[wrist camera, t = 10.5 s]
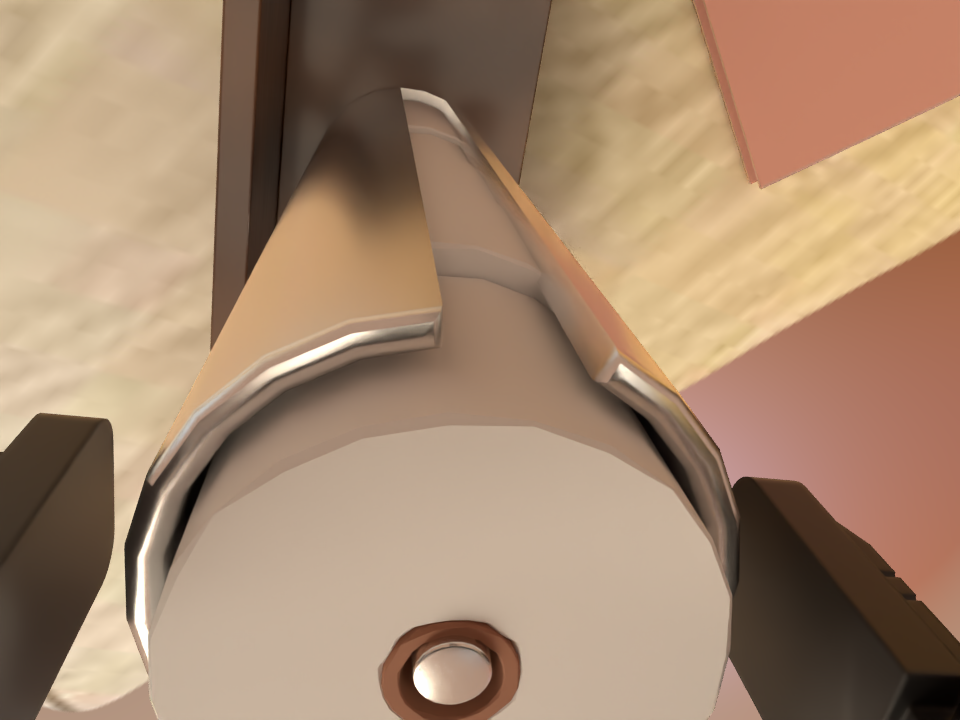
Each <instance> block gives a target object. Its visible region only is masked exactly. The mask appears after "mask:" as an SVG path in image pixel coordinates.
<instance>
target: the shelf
mask: <svg viewBox="0 0 960 720" xmlns="http://www.w3.org/2000/svg"><path fill="white" fill-rule="evenodd" d="M551 2H552V0H223V16H222V43H221V70H220V98H219V125H218V153H217V180H216V208H215V235H214V263H213V290H212V317H211V345H210V352H211V350H212V348H213V346H214V344H215V342H216V340H217V338H218V336H219V335H220V333H221V331H222V329H223V327H224V325H225V323H226V321H227V319H228V317H229V315H230V313H231V311H232V310H233V308H234V306H235V304H236V302H237V300H238V298H239V296H240V294H241V292H242V290H243V288H244V287H245V285H246V283H247V281H248V279H249V277H250V275H251V273H252V271H253V269H254V267H255V265H256V264H257V262H258V260H259V258H260V256H261V254H262V252H263V250H264V248H265V246H266V244H267V242H268V240H269V239H270V237H271V235H272V233H273V231H274V229H275V227H276V225H277V223H278V221H279V219H280V217H281V216H282V214H283V212H284V210H285V208H286V206H287V204H288V202H289V200H290V198H291V196H292V194H293V192H294V191H295V189H296V187H297V185H298V183H299V181H300V179H301V177H302V175H303V173H304V171H305V169H306V168H307V166H308V164H309V162H310V160H311V158H312V156H313V154H314V152H315V150H316V148H317V146H318V145H319V143H320V141H321V139H322V137H323V135H324V133H325V132H326V130H327V129H328V127H329V126H330V125H331V123H332V122H333V120H334V119H335V117H336V116H337V115H338V114H339V113H340V112H341V111H342V110H344V109H345V108H346V107H347V106H348V105H350V104H351V103H352V102H353V101H355V100H356V99H358V98H361V97H363V96H365V95H368V94H370V93H372V92H374V91H377V90H384V89H391V88H399V87H402V88H409V89H416V90H423V91H426V92H428V93H430V94H433V95H435V96H437V97H440V98H442V99H444V100H446V101H447V102H449V103H450V104H451V105H452V106H454V107H455V108H456V109H457V110H458V111H460V112H461V113H462V114H463V115H464V116H465V117H466V118H467V120H468V121H469V122H470V123H471V125H472V126H473V127H474V129H475V130H476V131H477V132H478V134H479V135H480V136H481V138H482V139H483V140H484V142H485V143H486V144H487V145H488V147H489V148H490V149H491V151H492V152H493V153H494V154H495V156H496V157H497V158H498V160H499V161H500V162H501V163H502V165H503V166H504V167H505V169H506V170H507V171H508V173H509V174H510V175H511V176H512V178H513V179H514V180H515V182H516V183H517V184H518V185H519V181H520V176H521V170H522V165H523V159H524V153H525V148H526V142H527V137H528V131H529V125H530V120H531V114H532V109H533V103H534V97H535V92H536V86H537V81H538V75H539V70H540V64H541V58H542V53H543V47H544V42H545V36H546V30H547V25H548V19H549V14H550V8H551Z"/></svg>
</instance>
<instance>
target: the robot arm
mask: <svg viewBox="0 0 960 720" xmlns="http://www.w3.org/2000/svg"><path fill="white" fill-rule="evenodd" d="M732 491H733V494H734V497H735V500H736V504H737V507H738V510H739V513H740V571H739V584H738V587H737V590H736V593H735V596H734V599H733V602H732V619H731V647H730V653H729V658H730V660H731V662H732V663H733V665H734V667H735V669H736V671H737V673H738V675H739V676H740V678H741V680H742V682H743V684H744V686H745V688H746V690H747V691H748V693H749V695H750V697H751V699H752V701H753V702H754V704H755V706H756V708H757V710H758V712H759V714H760V716H761V718H762V719H763V720H960V643H959V641H958V640H957V639H956V638H955V637H954V636H953V635H952V634H951V633H950V632H949V631H948V629H947V628H946V627H945V626H944V625H943V624H942V623H941V622H940V621H939V620H938V618H937V617H936V616H935V615H934V614H933V613H932V612H931V611H930V610H929V609H928V608H927V606H926V605H925V604H924V603H923V602H922V601H916V594H915V593H914V592H913V591H912V590H911V589H910V588H909V587H908V586H907V585H906V584H905V583H904V581H903V580H902V579H901V578H898V577H895V571H894V570H893V569H892V568H891V567H890V566H889V565H888V564H887V563H886V562H885V561H884V559H883V558H882V557H881V556H880V555H879V554H878V553H877V552H876V551H875V550H874V549H873V547H872V546H871V545H870V544H868V543H867V542H865V541H864V540H862V539H861V538H859V537H858V536H857V535H855V534H854V533H852V532H851V531H849V530H848V529H847V528H845V527H843V526H842V525H841V524H839V523H838V522H836V521H835V520H834V518H833V517H832V516H831V515H830V514H829V513H828V512H827V511H826V509H825V508H824V507H823V506H822V505H821V504H820V503H819V501H818V500H817V499H816V498H815V497H814V496H813V495H812V494H811V493H810V491H809V490H808V489H807V488H806V487H805V486H804V485H803V484H802V483H800V482H797V481H790V480H778V479H767V478H755V477H742V478H740V479H739V480H738V481H737V482H736V483H735V484H734V486H733V488H732ZM113 542H114V454H113V431H112V426H111V423H110V421H109V420H108V419H103V418H92V417H81V416H70V415H58V414H47V413H39V414H37V415H36V416H35V417H34V418H33V419H32V420H31V421H30V422H29V423H28V424H27V426H26V427H25V428H24V429H23V430H22V431H21V432H20V434H19V435H18V436H17V437H16V438H15V439H14V440H13V442H12V443H11V444H10V445H9V446H8V447H7V448H6V450H5V451H4V452H0V720H35V719H36V717H37V715H38V713H39V711H40V709H41V707H42V705H43V703H44V701H45V699H46V697H47V695H48V693H49V691H50V689H51V687H52V685H53V683H54V681H55V679H56V677H57V675H58V673H59V671H60V668H61V666H62V664H63V662H64V660H65V658H66V656H67V654H68V652H69V650H70V648H71V646H72V644H73V642H74V640H75V638H76V636H77V634H78V632H79V630H80V628H81V626H82V624H83V622H84V620H85V618H86V616H87V614H88V612H89V610H90V608H91V606H92V604H93V602H94V600H95V598H96V596H97V594H98V592H99V590H100V588H101V586H102V584H103V581H104V579H105V576H106V574H107V571H108V567H109V563H110V559H111V555H112V549H113Z"/></svg>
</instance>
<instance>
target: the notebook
mask: <svg viewBox="0 0 960 720" xmlns="http://www.w3.org/2000/svg"><path fill="white" fill-rule="evenodd" d="M693 3H694V7H695V10H696V13H697V16H698V20H699V23H700V26H701V29H702V32H703V36H704V39H705V42H706V45H707V49H708V52H709V55H710V58H711V62H712V65H713V68H714V71H715V74H716V78H717V81H718V84H719V87H720V91H721V94H722V97H723V100H724V103H725V107H726V110H727V113H728V116H729V120H730V123H731V126H732V129H733V133H734V136H735V139H736V142H737V145H738V149H739V152H740V155H741V158H742V162H743V165H744V168H745V171H746V174H747V178H748V181H749V183H750V184H752V183H754V182H756V181H758V184H759V187H760V188H761V189H763V188H765V187H767V186H769V185H771V184H773V183H776V182H778V181H780V180H782V179H784V178H786V177H788V176H790V175H793V174H795V173H797V172H799V171H801V170H803V169H805V168H807V167H810V166H812V165H814V164H816V163H818V162H820V161H822V160H824V159H826V158H829V157H831V156H833V155H835V154H837V153H839V152H841V151H843V150H846V149H848V148H850V147H852V146H854V145H856V144H858V143H860V142H863V141H865V140H867V139H869V138H871V137H873V136H875V135H877V134H880V133H882V132H884V131H886V130H888V129H890V128H892V127H894V126H897V125H899V124H901V123H903V122H905V121H907V120H909V119H911V118H914V117H916V116H918V115H920V114H922V113H924V112H926V111H928V110H930V109H933V108H935V107H937V106H939V105H941V104H943V103H945V102H947V101H950V100H952V99H954V98H956V97H958V96H960V0H693Z"/></svg>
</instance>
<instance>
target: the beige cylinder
mask: <svg viewBox="0 0 960 720" xmlns="http://www.w3.org/2000/svg"><path fill="white" fill-rule="evenodd" d="M124 551H125V584H126V617H127V621H128V624H129V626H130V629H131V632H132V634H133V637H134V639H135V642H136V645H137V647H138V650H139V653H140V655H141V658H142V661H143V663H144V666H145V668H146V671H147V674H148V676H149V698H150V701H151V704H152V706H153V708H154V711H155V714H156V716H157V719H158V720H708V718H709V717H710V715H711V713H712V712H713V710H714V709H715V705H716V702H717V698H718V694H719V690H720V687H721V683H722V679H723V675H724V671H725V668H726V664H727V661H728V657H729V653H730V647H731V619H732V602H733V599H734V596H735V593H736V590H737V587H738V584H739V571H740V513H739V510H738V507H737V504H736V500H735V497H734V494H733V491H732V488H731V485H730V482H729V478H728V475H727V472H726V468H725V465H724V462H723V459H722V456H721V452H720V449H719V448H718V446H717V445H716V444H715V442H714V441H713V440H712V438H711V437H710V436H709V434H708V432H707V431H706V430H705V428H704V427H703V426H702V424H701V423H700V421H699V420H698V419H697V417H696V416H695V414H694V413H693V412H692V410H691V409H690V407H689V406H688V405H687V403H686V402H685V401H684V399H683V398H682V396H681V395H680V394H679V392H678V391H677V390H676V388H675V387H674V386H673V384H672V383H671V382H670V381H669V379H668V378H667V377H666V375H665V374H664V373H663V372H662V370H661V369H660V368H659V366H658V365H657V364H656V362H655V361H654V360H653V359H652V357H651V356H650V355H649V353H648V352H647V351H646V350H645V348H644V347H643V346H642V344H641V343H640V342H639V340H638V339H637V338H636V337H635V335H634V334H633V333H632V331H631V330H630V329H629V328H628V326H627V325H626V324H625V322H624V321H623V320H622V319H621V317H620V316H619V315H618V313H617V312H616V311H615V309H614V308H613V307H612V306H611V304H610V303H609V302H608V300H607V299H606V298H605V297H604V295H603V294H602V293H601V291H600V290H599V289H598V288H597V286H596V285H595V284H594V282H593V281H592V280H591V278H590V277H589V276H588V275H587V273H586V272H585V271H584V269H583V268H582V267H581V266H580V264H579V263H578V262H577V260H576V259H575V258H574V257H573V255H572V254H571V253H570V251H569V250H568V249H567V247H566V246H565V245H564V244H563V242H562V241H561V240H560V238H559V237H558V236H557V235H556V233H555V232H554V231H553V229H552V228H551V227H550V225H549V224H548V223H547V222H546V220H545V219H544V218H543V216H542V215H541V214H540V213H539V211H538V210H537V209H536V207H535V206H534V205H533V204H532V202H531V201H530V200H529V198H528V197H527V196H526V194H525V193H524V192H523V191H522V189H521V188H520V187H519V185H518V184H517V183H516V182H515V180H514V179H513V178H512V176H511V175H510V174H509V173H508V171H507V170H506V169H505V167H504V166H503V165H502V163H501V162H500V161H499V160H498V158H497V157H496V156H495V154H494V153H493V152H492V151H491V149H490V148H489V147H488V145H487V144H486V143H485V142H484V140H483V139H482V138H481V136H480V135H479V134H478V132H477V131H476V130H475V129H474V127H473V126H472V125H471V123H470V122H469V121H468V120H467V118H466V117H465V116H464V115H463V114H462V113H461V112H460V111H458V110H457V109H456V108H455V107H454V106H452V105H451V104H450V103H449V102H447V101H446V100H444V99H442V98H440V97H437V96H435V95H433V94H430V93H428V92H426V91H423V90H416V89H409V88H402V87H399V88H391V89H384V90H377V91H374V92H372V93H370V94H368V95H365V96H363V97H361V98H358V99H356V100H355V101H353V102H352V103H351V104H350V105H348V106H347V107H346V108H345V109H344V110H342V111H341V112H340V113H339V114H338V115H337V116H336V117H335V119H334V120H333V122H332V123H331V125H330V126H329V127H328V129H327V130H326V132H325V133H324V135H323V137H322V139H321V141H320V143H319V145H318V146H317V148H316V150H315V152H314V154H313V156H312V158H311V160H310V162H309V164H308V166H307V168H306V169H305V171H304V173H303V175H302V177H301V179H300V181H299V183H298V185H297V187H296V189H295V191H294V192H293V194H292V196H291V198H290V200H289V202H288V204H287V206H286V208H285V210H284V212H283V214H282V216H281V217H280V219H279V221H278V223H277V225H276V227H275V229H274V231H273V233H272V235H271V237H270V239H269V240H268V242H267V244H266V246H265V248H264V250H263V252H262V254H261V256H260V258H259V260H258V262H257V264H256V265H255V267H254V269H253V271H252V273H251V275H250V277H249V279H248V281H247V283H246V285H245V287H244V288H243V290H242V292H241V294H240V296H239V298H238V300H237V302H236V304H235V306H234V308H233V310H232V311H231V313H230V315H229V317H228V319H227V321H226V323H225V325H224V327H223V329H222V331H221V333H220V335H219V336H218V338H217V340H216V342H215V344H214V346H213V348H212V350H211V352H210V354H209V356H208V358H207V359H206V361H205V363H204V365H203V367H202V369H201V371H200V373H199V375H198V377H197V379H196V381H195V383H194V384H193V386H192V388H191V390H190V392H189V394H188V396H187V398H186V400H185V402H184V404H183V406H182V407H181V409H180V411H179V413H178V415H177V417H176V419H175V421H174V423H173V425H172V427H171V429H170V430H169V432H168V434H167V436H166V438H165V440H164V442H163V444H162V446H161V448H160V450H159V452H158V454H157V455H156V457H155V459H154V461H153V463H152V465H151V467H150V469H149V471H148V473H147V475H146V478H145V481H144V485H143V488H142V491H141V494H140V497H139V500H138V504H137V507H136V510H135V513H134V516H133V519H132V523H131V526H130V529H129V532H128V535H127V538H126V542H125V549H124Z"/></svg>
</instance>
